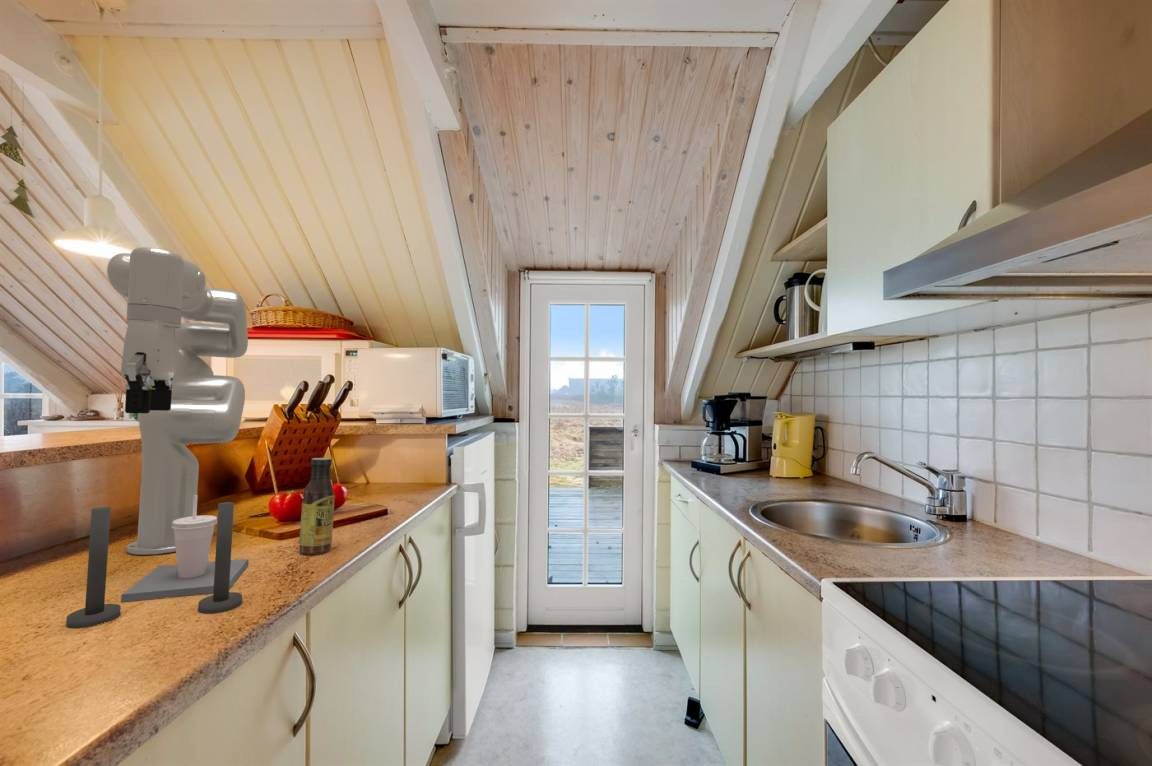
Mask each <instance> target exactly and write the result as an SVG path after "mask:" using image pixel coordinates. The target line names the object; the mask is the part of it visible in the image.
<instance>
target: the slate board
mask: <svg viewBox="0 0 1152 766" xmlns="http://www.w3.org/2000/svg"><path fill="white" fill-rule="evenodd" d="M249 560H250V558H245V559H244V558H241V559H231V565H230V583H229V589H231V587H232V586H233V585H234V583H235V582H236V581H237V580H238V579H239V577H240V576H241V575H242V574H243V572H244V571H245V570H246V569H245V568H247V567H249ZM244 569H245V570H244ZM214 574H215V561H207V566H206V571H205V574H203V575H201V576H197V577H193V578H179V576H178V566H177V564H168V565H166V564H165V565H159V566H157V567H156V568H155V569H154V570H152V571H151V572H150V573H148V574H147V575H145V576H143V578H141V579H140V580H138V581H137V582H136V583H135V584H133V585H132V586H131V587H129V588H128V589H126V590H125V591H124V592H122V594H121V595H120V596H121V597H120V603H125V602H127V601H128V602H135V600H139V601H146V600H145V599H149V600H155V599H154V598H159V599H166V598H165V597H169V598H177V597H178V596H179V597H187V596H189V595H190V596H197V595H198V596H199V595H208V594H213V591H214ZM179 597H178V598H179Z"/></svg>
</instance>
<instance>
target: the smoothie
mask: <svg viewBox="0 0 1152 766" xmlns="http://www.w3.org/2000/svg"><path fill="white" fill-rule="evenodd" d="M198 498H199V496H198V494H197V495H194V499H193V516H191V517H185V518H180V519H177V520H174V521H173V522H172V528H173V529H174V535H175V545H176V552H175V555H176V563H177V566H178V576H179V578H193V577H197V576H201V575H203V574H205V571H206V566H207V562H209V561H208V560H209V555H210V550H211V544H212V540H213V535H214V530H215V525H216V524H217V521H218V516H215V515H206V514H205V515H198V514H197V513H198V511H197V510H198Z"/></svg>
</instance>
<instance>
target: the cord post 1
mask: <svg viewBox="0 0 1152 766" xmlns="http://www.w3.org/2000/svg"><path fill="white" fill-rule="evenodd" d="M111 509H112V507H109V506H104V507H101V506H100V507H95V508H92V509H91V513H90V514H91V515H90V530H89V531H90V532H89V544H88V560H87V561H88V562H87V576H86V587H85V588H86V590H85V602H84V603H85V604H84V608H80V609H77V610H75V611H73V612H71V613H69V614H68V615H67V616H66V622H65V625H66V627H67V628H70V629H83V628H82V627H85V628H90V627H89V626H91V627H94V626H93V625H96V626H98V625H97V624H100V625H102V624H101V623H103V624H105V623H104V622H106V623H109V622H111V621H114V620H116V619H117V618H119V617H120V616H121V607H122V606H121V605H120V604H117V603H105V600H106V588H107V587H106V586H107V585H106V584H107V573H108V572H107V570H108V569H107V568H108V558H109V557H108V556H109V555H108V554H109V553H108V552H109V538H110V525H111V524H110V523H111V512H112V511H111ZM108 621H109V622H108Z"/></svg>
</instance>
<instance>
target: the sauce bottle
mask: <svg viewBox="0 0 1152 766" xmlns="http://www.w3.org/2000/svg"><path fill="white" fill-rule="evenodd" d="M332 465H333V459H332V458H331V457H313V458H311V459H310V466H311V473H310V477H309V478H310V480H309V482H308V483H307V485H306V486H305V488H304V489H303V493H302V495H303V496H302V503H301V514H300V515H301V516H300V527H299V539H298V545H299V553H300V554H302V555H317V554H322V553H323V554H324V553H326V552H328V551H329V550H330V549H331V546H332V542H333V530H334V529H333V528H334V527H333V526H334V519H335V518H334V517H335V516H334V515H335V501H336V495H335V494H336V493H335V491H334V488H333V484H332V481H331V466H332Z"/></svg>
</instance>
